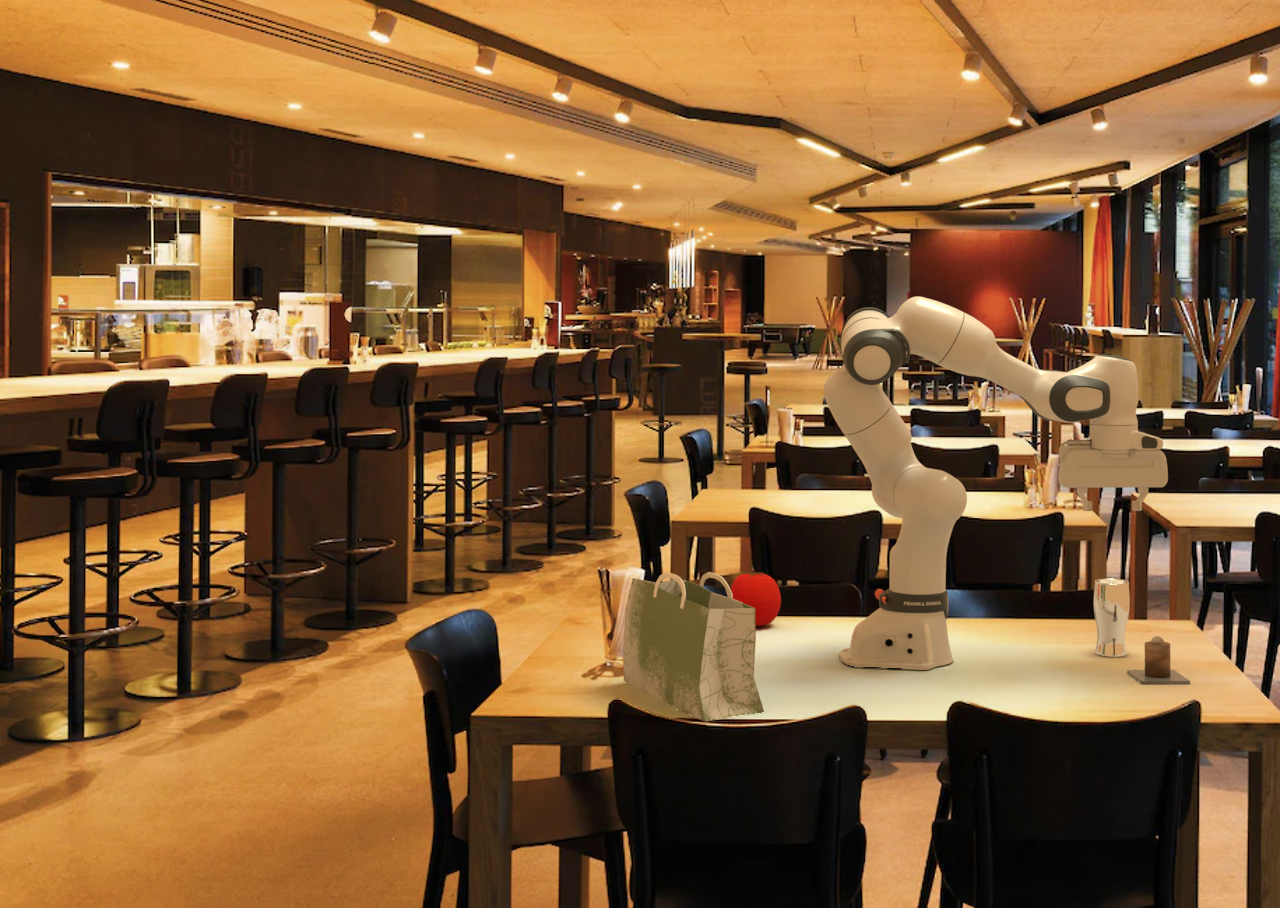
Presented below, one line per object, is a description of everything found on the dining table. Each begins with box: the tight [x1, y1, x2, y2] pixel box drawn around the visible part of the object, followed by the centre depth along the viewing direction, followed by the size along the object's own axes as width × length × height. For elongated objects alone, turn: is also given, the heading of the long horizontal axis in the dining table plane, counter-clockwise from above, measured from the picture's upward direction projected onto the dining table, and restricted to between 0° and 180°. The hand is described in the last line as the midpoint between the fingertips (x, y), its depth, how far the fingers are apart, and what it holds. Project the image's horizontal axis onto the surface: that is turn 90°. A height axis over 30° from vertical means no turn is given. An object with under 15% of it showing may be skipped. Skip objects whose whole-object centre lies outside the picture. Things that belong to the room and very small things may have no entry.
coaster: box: [1126, 669, 1191, 685], centre depth 286 cm, size 9×9×1 cm
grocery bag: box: [622, 571, 765, 722], centre depth 274 cm, size 32×14×23 cm, turn 27°
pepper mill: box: [1144, 635, 1171, 678], centre depth 286 cm, size 5×5×7 cm
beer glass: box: [1093, 578, 1131, 658], centre depth 306 cm, size 7×7×15 cm
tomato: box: [730, 569, 782, 627], centre depth 337 cm, size 12×12×13 cm
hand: (1112, 510), depth 291 cm, fingers open, 8 cm apart
